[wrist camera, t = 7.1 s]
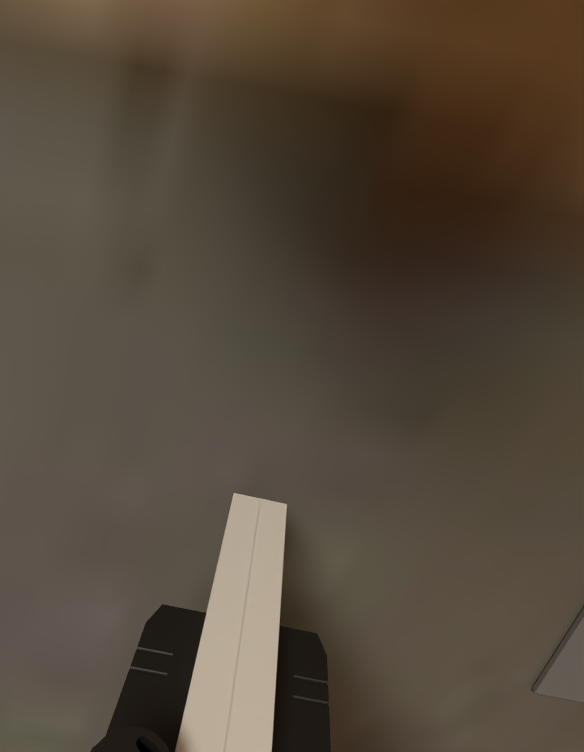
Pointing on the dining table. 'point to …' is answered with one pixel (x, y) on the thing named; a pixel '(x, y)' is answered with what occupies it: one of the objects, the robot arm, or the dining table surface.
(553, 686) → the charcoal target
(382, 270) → the dining table surface
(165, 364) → the dining table surface
